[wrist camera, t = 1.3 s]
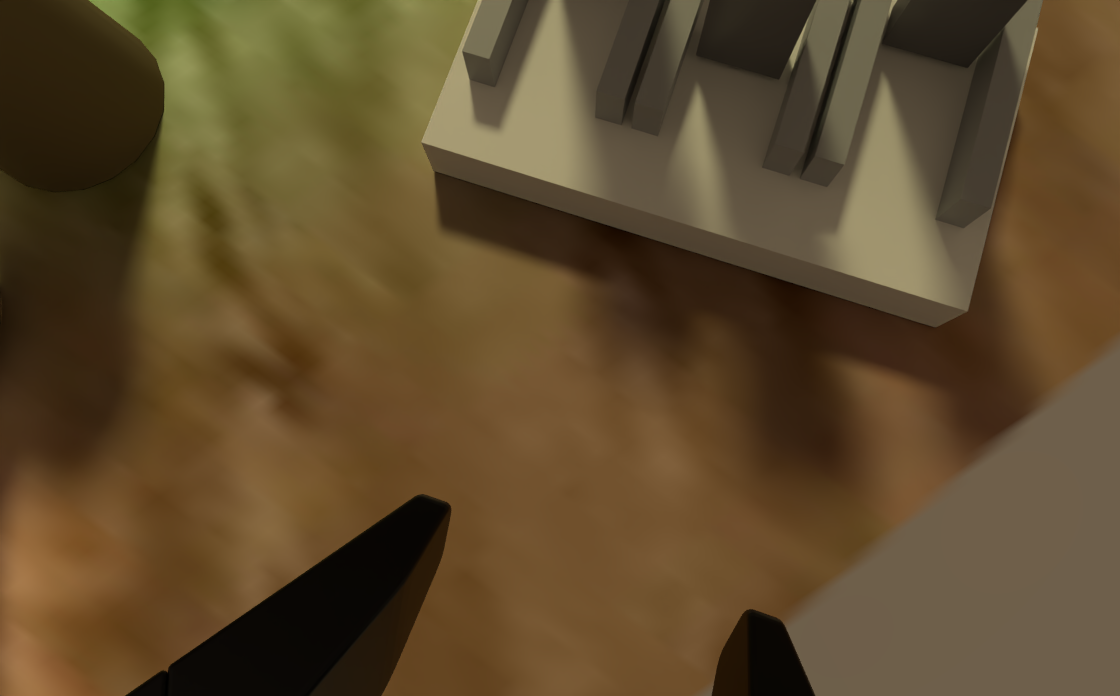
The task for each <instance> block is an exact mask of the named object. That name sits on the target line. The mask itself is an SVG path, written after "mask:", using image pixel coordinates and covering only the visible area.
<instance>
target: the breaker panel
mask: <svg viewBox="0 0 1120 696" xmlns="http://www.w3.org/2000/svg"><path fill="white" fill-rule="evenodd" d="M709 2H710V0H478V1H477V4H476V6H475V9H474V11H473V14H472V16H471V19H470V21H469V24H468V26H467V29H466V31H465V34H464V36H463V39H462V41H461V44H460V46H459V49H458V51H457V54H456V56H455V59H454V61H453V64H452V66H451V69H450V71H449V74H448V76H447V79H446V81H445V84H444V86H443V89H442V92H441V94H440V97H439V99H438V102H437V104H436V107H435V109H434V112H433V114H432V117H431V119H430V122H429V124H428V127H427V129H426V132H425V134H424V137H423V139H422V142H421V143H422V145H423V147H424V150H425V152H426V154H427V157H428V159H429V161H430V164H431V166H432V168H433V171H436V172H439V173H442V174H445V175H448V176H452V177H455V178H458V179H461V180H464V181H468V182H471V183H474V184H477V185H480V186H484V187H487V188H490V189H493V190H496V191H500V192H503V193H506V194H509V195H512V196H516V197H519V198H522V199H525V200H528V201H532V202H535V203H538V204H541V205H544V206H548V207H551V208H554V209H557V210H560V211H564V212H567V213H570V214H573V215H576V216H580V217H583V218H586V219H589V220H592V221H596V222H599V223H602V224H605V225H608V226H612V227H615V228H618V229H621V230H624V231H628V232H631V233H634V234H637V235H640V236H644V237H647V238H650V239H653V240H656V241H660V242H663V243H666V244H669V245H672V246H676V247H679V248H682V249H685V250H688V251H692V252H695V253H698V254H701V255H704V256H708V257H711V258H714V259H717V260H720V261H724V262H727V263H730V264H733V265H736V266H740V267H743V268H746V269H749V270H752V271H756V272H759V273H762V274H765V275H768V276H772V277H775V278H778V279H781V280H784V281H788V282H791V283H794V284H797V285H800V286H804V287H807V288H810V289H813V290H816V291H820V292H823V293H826V294H829V295H832V296H836V297H839V298H842V299H845V300H848V301H852V302H855V303H858V304H861V305H864V306H868V307H871V308H874V309H877V310H880V311H884V312H887V313H890V314H893V315H896V316H900V317H903V318H906V319H909V320H912V321H916V322H919V323H922V324H925V325H928V326H932V327H935V328H936V327H938V326H940V325H942V324H944V323H946V322H948V321H950V320H952V319H954V318H956V317H958V316H960V315H962V314H964V313H966V312H968V308H969V304H970V300H971V296H972V292H973V288H974V284H975V280H976V276H977V272H978V268H979V264H980V260H981V256H982V252H983V248H984V244H985V240H986V236H987V232H988V228H989V224H990V220H991V216H992V212H993V208H994V204H995V200H996V196H997V192H998V188H999V184H1000V180H1001V176H1002V172H1003V168H1004V164H1005V160H1006V156H1007V152H1008V148H1009V144H1010V140H1011V136H1012V132H1013V128H1014V124H1015V120H1016V116H1017V112H1018V108H1019V104H1020V100H1021V95H1022V91H1023V87H1024V83H1025V79H1026V75H1027V71H1028V67H1029V63H1030V59H1031V55H1032V51H1033V47H1034V43H1035V39H1036V35H1037V31H1038V28H1036V26H1037V22H1038V18H1039V14H1040V10H1041V6H1042V2H1043V0H1028V1H1027V2H1026V3H1025V4H1024V5H1023V6H1022V7H1021V8H1020V10H1019V11H1018V12H1017V13H1016V14H1015V15H1014V16H1013V17H1012V19H1011V20H1010V21H1009V22H1008V23H1007V24H1006V25H1005V26H1004V28H1003V29H1002V30H1001V31H1000V32H999V33H998V34H997V36H996V37H995V38H994V39H993V40H992V41H991V42H990V43H989V45H988V46H987V47H986V48H985V49H984V50H983V51H982V52H981V54H980V55H979V56H978V57H977V58H976V59H975V60H974V61H973V63H972V64H971V65H970V66H969V67H968V68H965V67H962V66H958V65H954V64H951V63H947V62H944V61H940V60H937V59H933V58H930V57H926V56H923V55H919V54H916V53H912V52H909V51H905V50H901V49H898V48H894V47H891V46H887V45H884V44H882V42H883V38H884V35H885V32H886V28H887V25H888V21H889V18H890V14H891V11H892V8H893V6H894V5H895V3H896V2H897V0H816V2H815V5H814V7H813V9H812V11H811V13H810V15H809V17H808V19H807V22H806V24H805V26H804V28H803V30H802V32H801V34H800V37H799V39H798V41H797V43H796V45H795V47H794V49H793V51H792V54H791V56H790V58H789V60H788V62H787V64H786V66H785V69H784V71H783V73H782V75H781V77H780V79H779V80H778V79H775V78H771V77H768V76H765V75H761V74H758V73H754V72H751V71H747V70H744V69H741V68H737V67H734V66H730V65H727V64H723V63H720V62H716V61H713V60H710V59H706V58H703V57H699V56H696V52H697V48H698V44H699V40H700V37H701V33H702V29H703V25H704V21H705V17H706V13H707V9H708V6H709Z"/></svg>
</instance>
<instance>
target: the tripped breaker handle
mask: <svg viewBox="0 0 1120 696" xmlns="http://www.w3.org/2000/svg"><path fill="white" fill-rule="evenodd" d="M815 2H816V0H710V2H709V6H708V9H707V13H706V17H705V21H704V25H703V29H702V33H701V37H700V40H699V44H698V48H697V52H696V56H699V57H703V58H706V59H710V60H713V61H716V62H720V63H723V64H727V65H730V66H734V67H737V68H741V69H744V70H747V71H751V72H754V73H758V74H761V75H765V76H768V77H771V78H775V79H778V80H779V79H780V77H781V75H782V73H783V71H784V69H785V66H786V64H787V62H788V60H789V58H790V56H791V54H792V51H793V49H794V47H795V45H796V43H797V41H798V39H799V37H800V34H801V32H802V30H803V28H804V26H805V24H806V22H807V19H808V17H809V15H810V13H811V11H812V9H813V7H814V5H815Z"/></svg>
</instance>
